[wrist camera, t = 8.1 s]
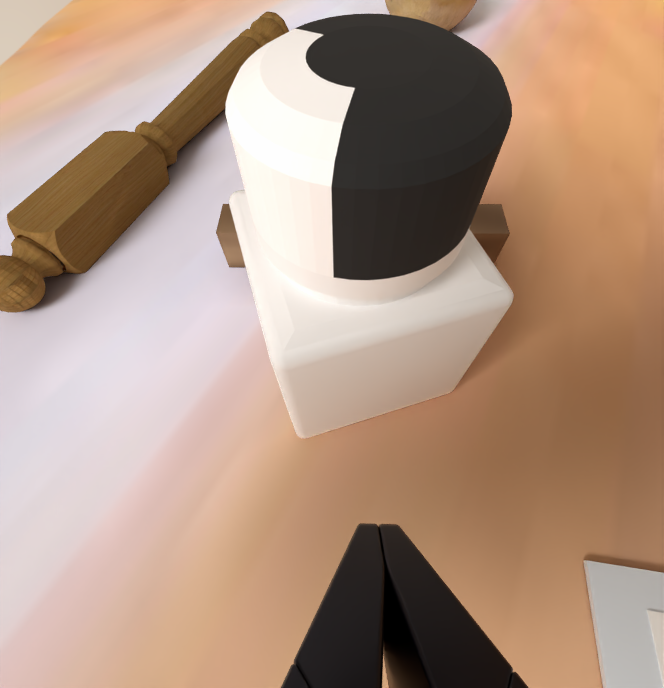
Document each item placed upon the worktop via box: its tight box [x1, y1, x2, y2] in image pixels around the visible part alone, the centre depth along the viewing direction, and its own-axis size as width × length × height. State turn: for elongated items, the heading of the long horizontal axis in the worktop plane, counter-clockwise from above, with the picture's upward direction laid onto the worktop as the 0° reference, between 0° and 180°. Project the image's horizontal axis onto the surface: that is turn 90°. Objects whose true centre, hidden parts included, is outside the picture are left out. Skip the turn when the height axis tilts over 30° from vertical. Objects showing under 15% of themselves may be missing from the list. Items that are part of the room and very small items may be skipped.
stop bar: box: [216, 204, 510, 267], centre depth 20 cm, size 2×14×2 cm, turn 88°
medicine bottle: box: [225, 14, 514, 439], centre depth 13 cm, size 7×7×12 cm
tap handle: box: [0, 12, 289, 312], centre depth 25 cm, size 3×3×30 cm
